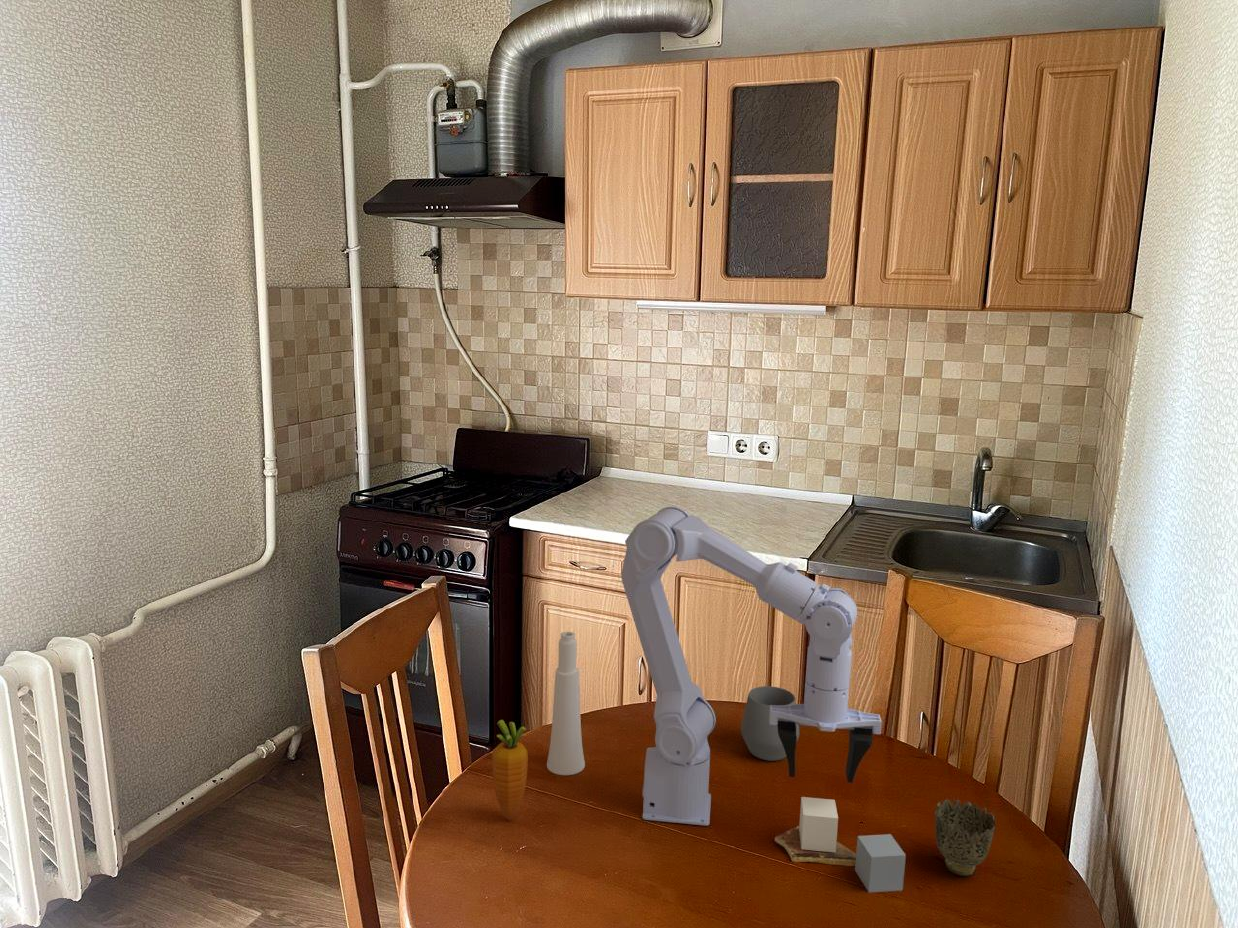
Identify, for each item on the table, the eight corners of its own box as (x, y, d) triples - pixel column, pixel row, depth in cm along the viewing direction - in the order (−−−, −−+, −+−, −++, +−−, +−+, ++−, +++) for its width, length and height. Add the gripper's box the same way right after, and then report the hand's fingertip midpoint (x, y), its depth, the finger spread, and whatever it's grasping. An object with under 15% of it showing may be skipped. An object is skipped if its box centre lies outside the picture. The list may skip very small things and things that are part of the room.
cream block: (801, 848, 120) (803, 814, 119) (799, 829, 124) (801, 796, 123) (835, 852, 119) (838, 818, 118) (832, 832, 124) (834, 799, 123)
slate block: (868, 892, 113) (871, 857, 112) (854, 870, 117) (857, 835, 117) (902, 890, 114) (905, 854, 113) (887, 868, 118) (890, 834, 117)
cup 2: (983, 895, 113) (990, 837, 112) (923, 874, 117) (929, 818, 115) (994, 864, 119) (1000, 809, 118) (937, 845, 123) (942, 792, 122)
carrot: (534, 820, 127) (535, 721, 124) (507, 834, 123) (507, 733, 120) (511, 806, 130) (512, 709, 127) (484, 819, 126) (484, 720, 124)
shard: (868, 870, 118) (869, 858, 118) (830, 892, 114) (831, 879, 113) (806, 831, 127) (806, 819, 126) (768, 850, 122) (769, 838, 122)
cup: (802, 768, 143) (806, 709, 141) (743, 766, 143) (746, 708, 141) (791, 739, 152) (795, 684, 150) (736, 738, 152) (739, 682, 150)
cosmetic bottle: (574, 752, 146) (576, 624, 142) (591, 770, 141) (594, 637, 137) (540, 761, 143) (541, 630, 139) (557, 779, 138) (558, 643, 134)
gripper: (772, 690, 116) (766, 786, 119) (888, 699, 114) (879, 797, 117) (771, 668, 123) (765, 759, 125) (880, 677, 121) (872, 769, 124)
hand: (820, 775), depth 122 cm, fingers open, 7 cm apart
